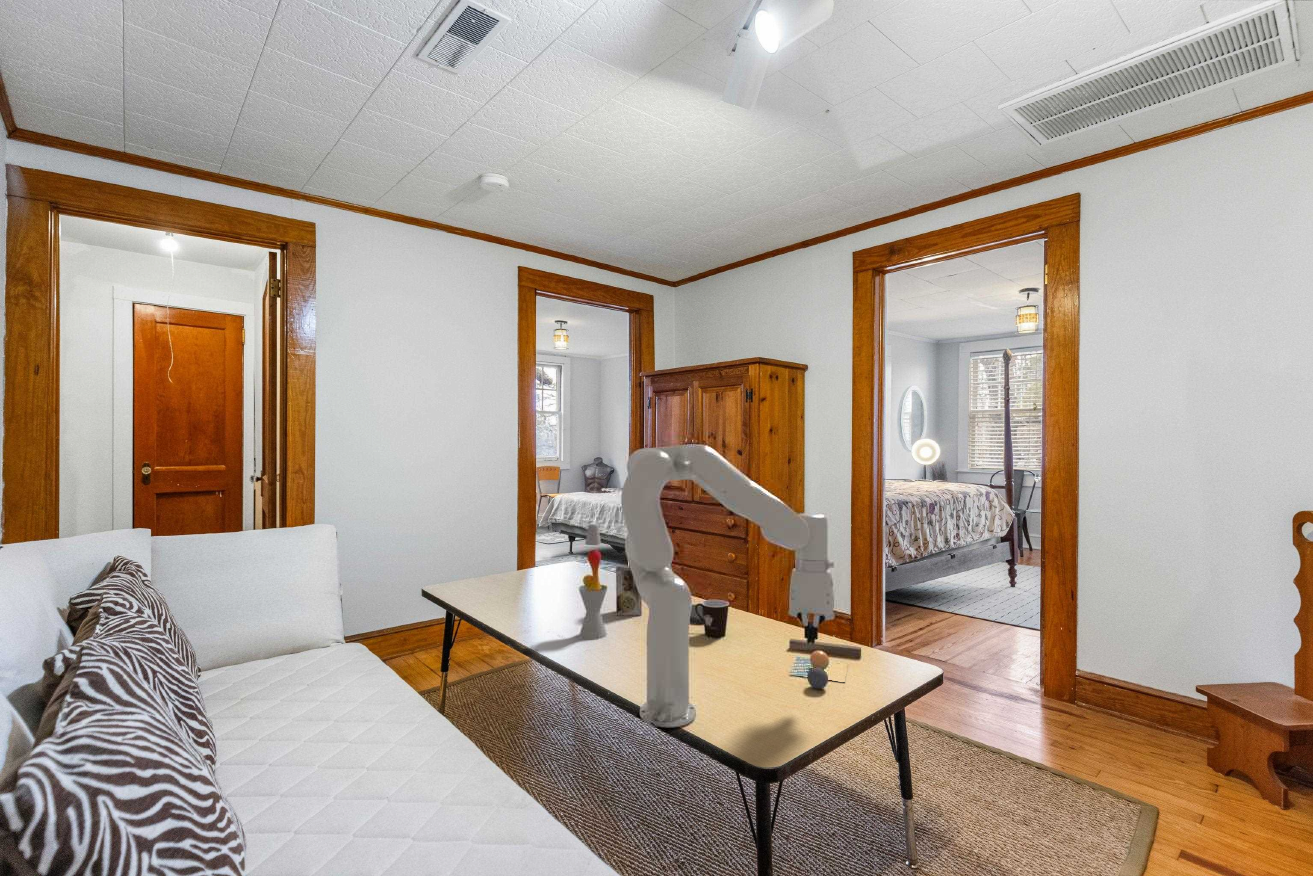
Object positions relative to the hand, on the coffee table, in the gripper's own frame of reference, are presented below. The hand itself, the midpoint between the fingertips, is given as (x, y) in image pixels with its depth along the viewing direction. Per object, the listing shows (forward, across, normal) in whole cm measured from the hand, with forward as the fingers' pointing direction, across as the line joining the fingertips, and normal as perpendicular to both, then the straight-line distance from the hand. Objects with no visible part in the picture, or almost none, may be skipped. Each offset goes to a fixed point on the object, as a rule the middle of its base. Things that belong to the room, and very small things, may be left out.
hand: (811, 641), depth 147 cm
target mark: (+13, 0, -19) cm, 23 cm away
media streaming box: (+14, +44, -54) cm, 71 cm away
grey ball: (+11, -1, -6) cm, 13 cm away
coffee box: (+14, +69, -49) cm, 86 cm away
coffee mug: (+14, +35, -38) cm, 53 cm away
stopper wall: (+13, 0, -33) cm, 36 cm away
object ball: (+11, 0, -19) cm, 22 cm away
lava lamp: (+14, +70, -23) cm, 75 cm away
